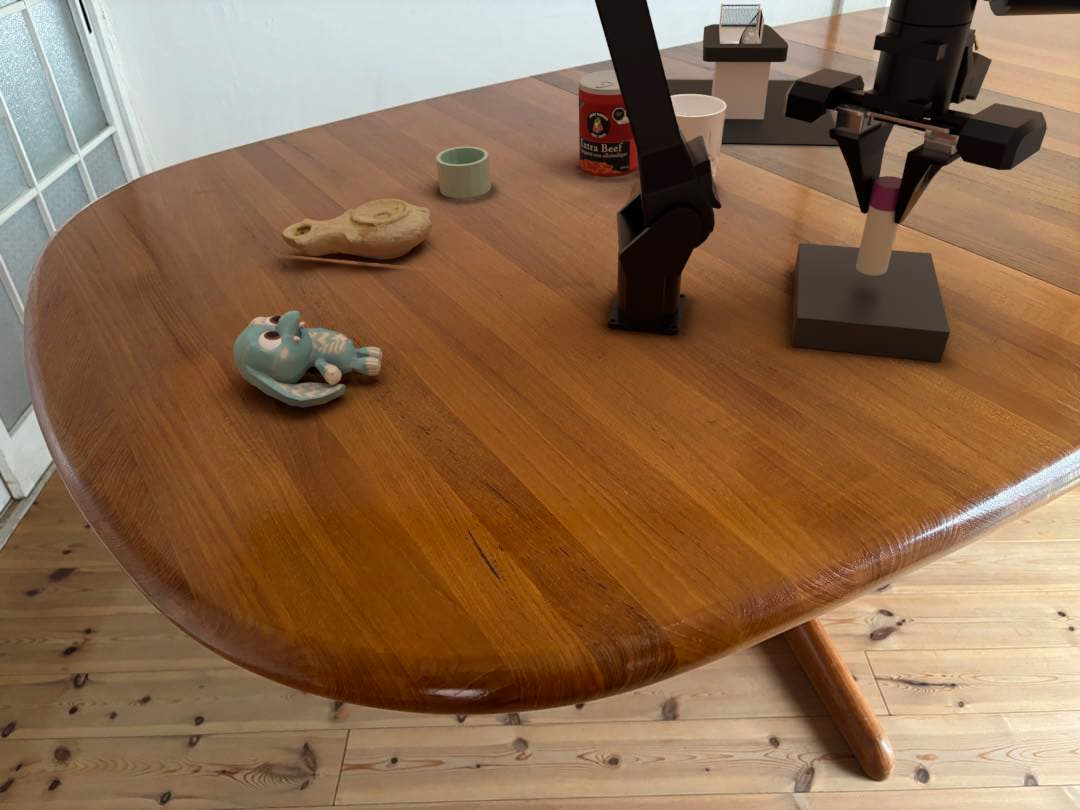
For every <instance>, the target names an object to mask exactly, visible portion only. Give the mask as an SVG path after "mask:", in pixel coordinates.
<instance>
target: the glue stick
mask: <svg viewBox="0 0 1080 810" xmlns="http://www.w3.org/2000/svg"><path fill="white" fill-rule="evenodd" d="M901 180H902V177H899V176H891V175H883V176H879V177H878V178H876V179H875V180H874V183H873V188H872V192H871V197H870V201H869V209H868V213H866V217H865V222H864V228H863V231H862V236H861V240H860V244H859V245H860V246H859V248H860V249H859V254H858V258H857V263H856V269H857V270H858V271H859V272H861V273H863V274H866V275H872V276H877V275H882V274H884V273H886V271H887V268H888V264H889V260H890V256H891V252H892V250H893V248H894V243H895V239H896V236H897V232H898V228H899V224H896V223H894V219H895V207H896V202H897V198H898V193H899V189H900V184H901Z"/></svg>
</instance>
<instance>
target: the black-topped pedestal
mask: <svg viewBox="0 0 1080 810" xmlns="http://www.w3.org/2000/svg"><path fill="white" fill-rule="evenodd" d="M788 52H789V43H788V42H787V41H786V40H785V39H784V38H783V37H782V36H781V35H780V34H779V33H778V32H777V31H776V30H775V29H774V28H772V26H771V25H768V24H765V17H764V15H763V8H761V3H757V4H724V3H720V14H719V23H712V24H708V25H706V26H704V27H703V37H702V61H703V62H707V63H714V65H713V73H712V74H713V75H712V79H666V80H667V84H668V88H669V92H670V96H673V95H680V94H700V95H708V96H712V97H716V98H719V99H721V100H722V101H724V102H725V103H726V105H727V107H726V114H725V121H724V127H723V134H722V142H721V144H722V143H723V144H724V143H725V144H770V145H771V144H774V145H775V144H776V145H780V144H781V145H824V146H825V145H828V146H829V145H831V146H832V145H835V146H839V145H838V142H837V141H836V140H835V139H832V138H829V136H828V133H829V130H830V129H832V128H834V126H835V121H834V118H833V115H832V113H831V110H830V109H827V111H826V114H825V115H824V116H823V117H821V118H820V119H819V120H817V121H816V122H814V123H809V122H805V121H801V120H797V119H793V118H789V117H785V116H784V114H783V111H784V104H785V97H786V93H787V91H788V89H789V88H790V86H791V85H792V84H793V83H794V82H795V81H796V80H784V79H783V80H781V79H780V80H779V79H777V80H776V79H775V80H774V79H772V80H770V79H769V78H770V71H771V64H772V63H784V62H786V61H787V59H788Z"/></svg>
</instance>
